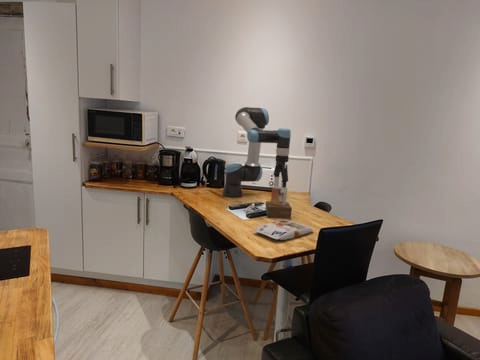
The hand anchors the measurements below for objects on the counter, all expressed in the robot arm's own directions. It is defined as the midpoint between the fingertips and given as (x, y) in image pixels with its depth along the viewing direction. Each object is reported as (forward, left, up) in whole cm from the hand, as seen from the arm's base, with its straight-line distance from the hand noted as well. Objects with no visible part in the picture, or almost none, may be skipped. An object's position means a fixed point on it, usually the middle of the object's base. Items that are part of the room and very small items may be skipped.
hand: (279, 189), depth 217 cm
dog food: (+34, -7, -16) cm, 38 cm away
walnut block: (0, 0, -16) cm, 16 cm away
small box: (0, 0, -9) cm, 9 cm away
